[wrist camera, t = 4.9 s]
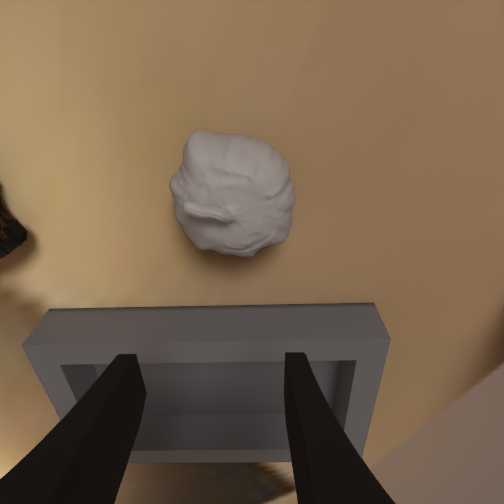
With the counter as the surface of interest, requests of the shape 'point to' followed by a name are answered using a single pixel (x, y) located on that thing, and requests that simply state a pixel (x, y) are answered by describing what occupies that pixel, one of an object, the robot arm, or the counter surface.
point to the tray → (216, 371)
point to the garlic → (232, 193)
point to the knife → (10, 233)
